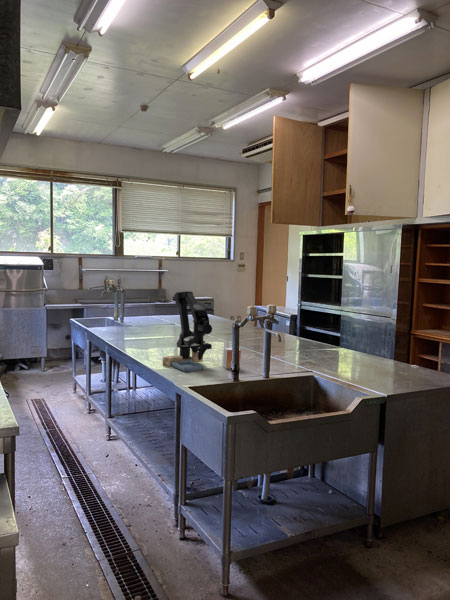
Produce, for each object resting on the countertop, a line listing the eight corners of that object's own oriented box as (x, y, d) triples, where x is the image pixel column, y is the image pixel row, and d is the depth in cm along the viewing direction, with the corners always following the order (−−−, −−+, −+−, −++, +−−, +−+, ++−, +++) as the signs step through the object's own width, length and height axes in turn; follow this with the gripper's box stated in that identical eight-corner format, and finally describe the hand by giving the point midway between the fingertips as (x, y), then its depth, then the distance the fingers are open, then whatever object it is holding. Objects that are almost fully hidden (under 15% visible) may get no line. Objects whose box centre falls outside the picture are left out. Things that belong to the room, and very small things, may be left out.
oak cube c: (162, 365, 252) (162, 357, 251) (168, 363, 255) (168, 355, 255) (168, 366, 249) (169, 358, 249) (174, 365, 253) (174, 357, 253)
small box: (225, 369, 251) (226, 349, 250) (223, 366, 256) (224, 347, 255) (240, 368, 253) (241, 349, 252) (237, 366, 258) (238, 347, 258)
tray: (170, 366, 250) (171, 362, 249) (189, 364, 257) (189, 360, 256) (184, 372, 239) (184, 367, 239) (203, 369, 246) (203, 365, 246)
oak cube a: (191, 360, 260) (191, 352, 260) (198, 359, 263) (198, 352, 263) (195, 362, 257) (196, 354, 256) (202, 361, 259) (203, 353, 259)
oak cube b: (171, 363, 257) (172, 355, 256) (179, 363, 259) (179, 355, 258) (174, 365, 253) (175, 357, 252) (182, 365, 255) (182, 356, 254)
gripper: (177, 329, 261) (175, 357, 262) (195, 334, 246) (194, 364, 247) (193, 328, 268) (192, 355, 269) (213, 333, 253) (211, 362, 254)
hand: (197, 359), depth 260 cm, fingers closed on oak cube a, 4 cm apart
